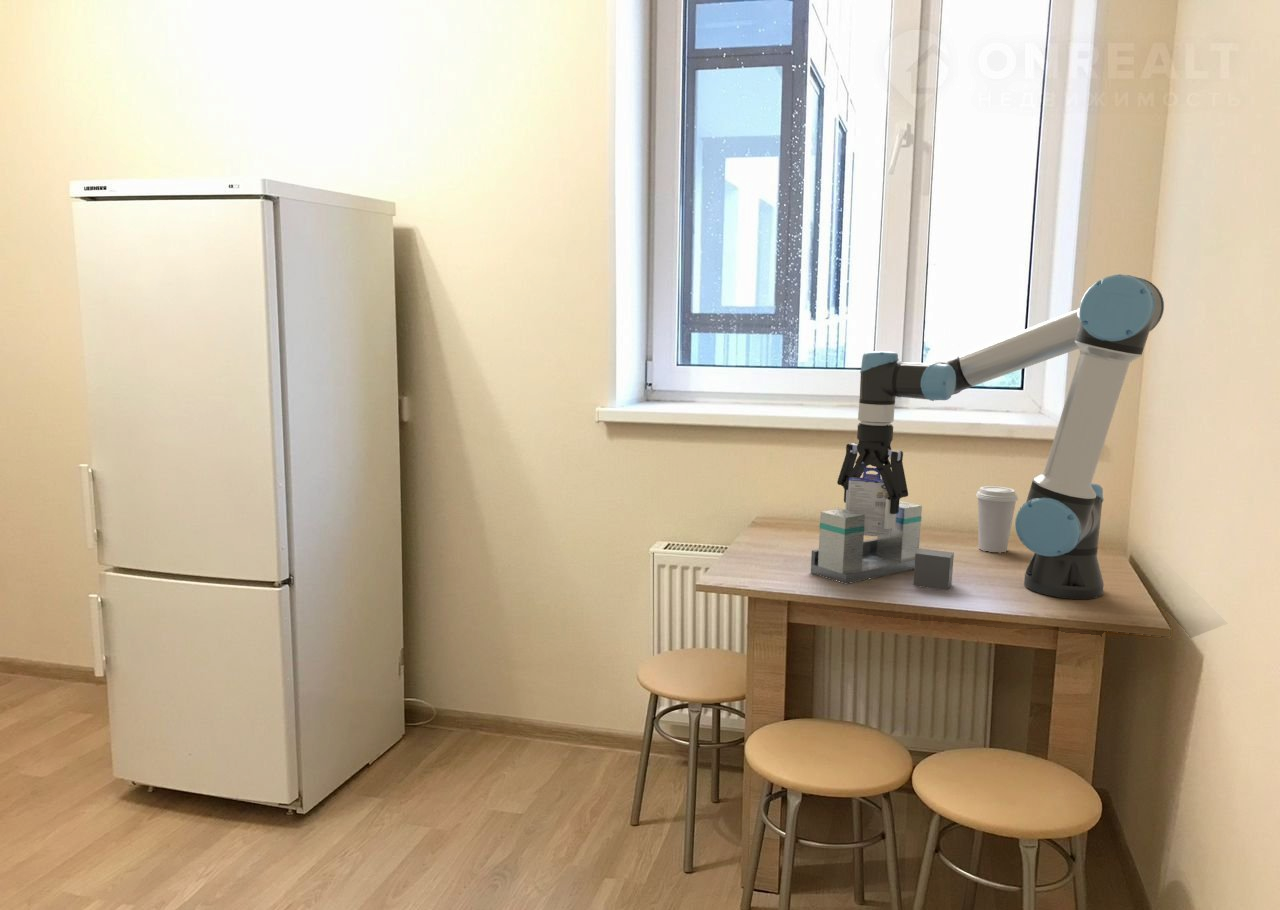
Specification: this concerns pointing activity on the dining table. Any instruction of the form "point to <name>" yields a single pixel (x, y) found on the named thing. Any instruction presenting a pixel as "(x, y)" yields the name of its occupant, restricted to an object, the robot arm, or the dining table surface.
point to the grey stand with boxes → (865, 545)
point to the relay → (933, 569)
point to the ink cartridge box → (869, 501)
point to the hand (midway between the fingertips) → (869, 523)
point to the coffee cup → (995, 517)
